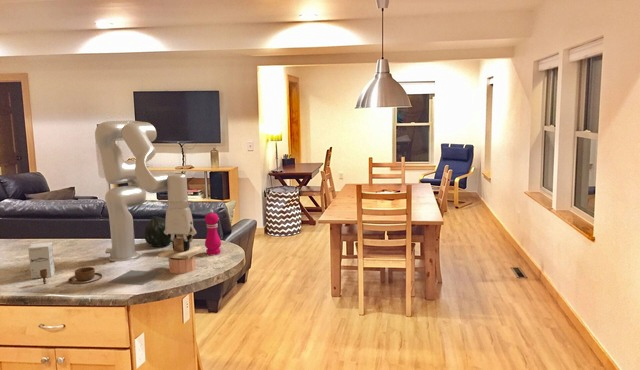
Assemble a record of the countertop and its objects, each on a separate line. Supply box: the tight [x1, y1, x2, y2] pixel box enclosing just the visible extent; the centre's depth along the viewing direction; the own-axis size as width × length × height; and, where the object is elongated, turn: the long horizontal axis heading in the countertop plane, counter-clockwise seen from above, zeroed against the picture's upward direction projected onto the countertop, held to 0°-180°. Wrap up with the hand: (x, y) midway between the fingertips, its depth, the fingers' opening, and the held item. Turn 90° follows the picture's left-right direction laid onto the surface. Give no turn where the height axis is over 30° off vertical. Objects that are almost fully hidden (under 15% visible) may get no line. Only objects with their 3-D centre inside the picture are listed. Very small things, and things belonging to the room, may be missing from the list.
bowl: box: [168, 255, 196, 275], centre depth 203 cm, size 10×10×6 cm
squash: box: [143, 216, 172, 247], centre depth 245 cm, size 14×15×15 cm
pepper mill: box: [204, 209, 222, 256], centre depth 227 cm, size 7×7×20 cm
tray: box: [106, 269, 165, 286], centre depth 195 cm, size 15×15×1 cm
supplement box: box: [27, 241, 56, 280], centre depth 201 cm, size 7×7×13 cm
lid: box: [157, 237, 205, 259], centre depth 202 cm, size 13×13×6 cm
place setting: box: [40, 266, 103, 288], centre depth 196 cm, size 18×20×6 cm
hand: (181, 249), depth 203 cm, fingers closed on lid, 4 cm apart
